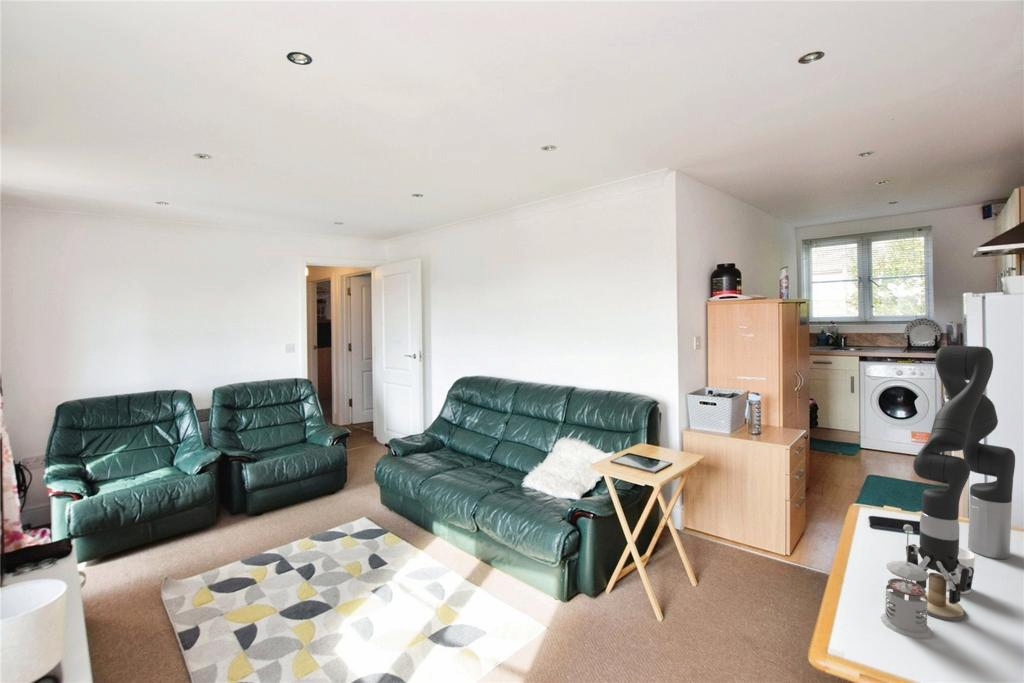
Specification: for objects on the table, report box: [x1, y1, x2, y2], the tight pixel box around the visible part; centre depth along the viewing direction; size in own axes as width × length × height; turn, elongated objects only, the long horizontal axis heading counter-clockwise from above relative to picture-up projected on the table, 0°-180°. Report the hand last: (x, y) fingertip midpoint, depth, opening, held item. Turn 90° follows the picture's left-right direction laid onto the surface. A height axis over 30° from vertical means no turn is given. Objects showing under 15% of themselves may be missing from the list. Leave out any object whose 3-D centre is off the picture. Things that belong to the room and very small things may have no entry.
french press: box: [879, 523, 933, 639], centre depth 119 cm, size 10×12×25 cm
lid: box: [921, 572, 965, 618], centre depth 125 cm, size 10×10×8 cm
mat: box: [923, 608, 967, 622], centre depth 126 cm, size 11×11×1 cm
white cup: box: [936, 547, 976, 595], centre depth 134 cm, size 8×8×10 cm
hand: (937, 595), depth 125 cm, fingers open, 6 cm apart
